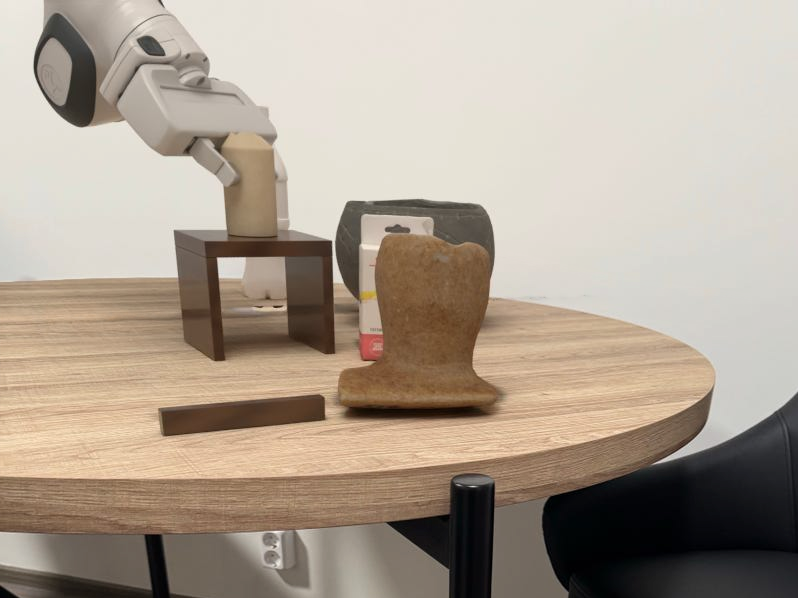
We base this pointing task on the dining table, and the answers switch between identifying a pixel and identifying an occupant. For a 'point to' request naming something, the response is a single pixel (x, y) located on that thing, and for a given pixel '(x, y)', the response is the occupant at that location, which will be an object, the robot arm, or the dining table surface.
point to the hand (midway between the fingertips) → (254, 182)
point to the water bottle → (269, 272)
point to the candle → (251, 187)
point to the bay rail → (241, 414)
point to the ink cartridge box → (368, 254)
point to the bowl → (449, 225)
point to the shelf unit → (301, 251)
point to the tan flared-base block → (425, 327)
